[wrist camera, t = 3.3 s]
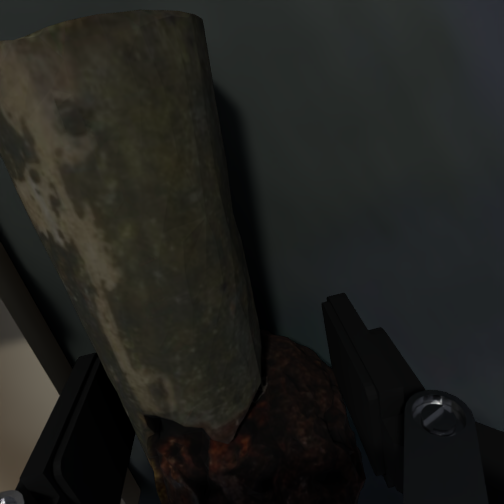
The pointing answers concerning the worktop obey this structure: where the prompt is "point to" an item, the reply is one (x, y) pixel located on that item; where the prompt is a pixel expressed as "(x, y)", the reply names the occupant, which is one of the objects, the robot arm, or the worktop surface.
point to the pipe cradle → (29, 379)
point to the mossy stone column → (166, 261)
